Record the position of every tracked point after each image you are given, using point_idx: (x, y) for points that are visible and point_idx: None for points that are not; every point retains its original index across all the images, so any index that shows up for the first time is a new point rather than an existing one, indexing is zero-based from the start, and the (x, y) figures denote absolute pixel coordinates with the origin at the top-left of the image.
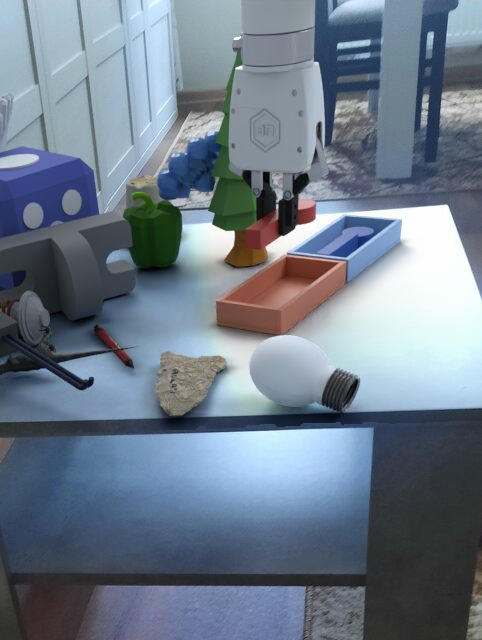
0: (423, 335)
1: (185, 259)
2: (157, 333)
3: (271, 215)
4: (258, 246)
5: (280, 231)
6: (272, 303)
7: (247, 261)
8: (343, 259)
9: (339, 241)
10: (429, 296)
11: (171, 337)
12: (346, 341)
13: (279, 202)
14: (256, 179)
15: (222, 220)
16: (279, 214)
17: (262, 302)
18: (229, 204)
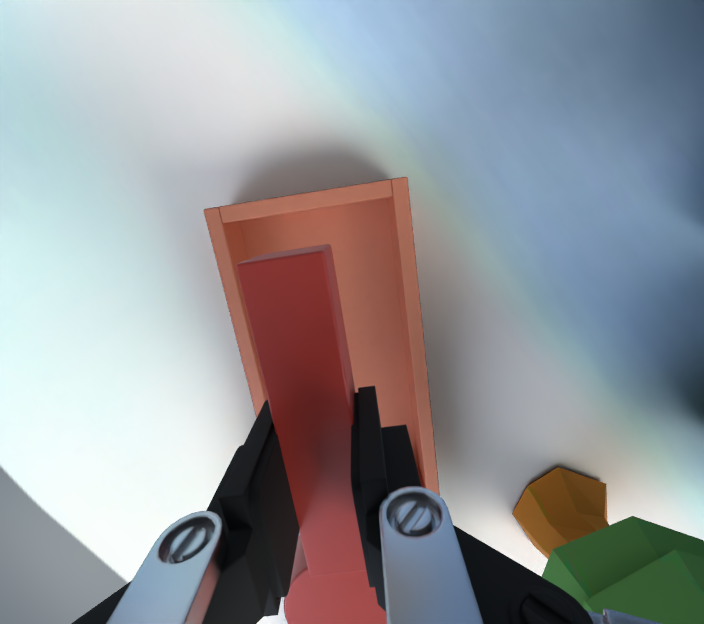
0: (2, 358)
1: (700, 457)
2: (505, 53)
3: (334, 455)
4: (266, 254)
5: None
6: (348, 333)
7: (542, 489)
8: (299, 533)
9: None
10: (126, 506)
11: (455, 53)
12: (94, 259)
13: (247, 487)
14: (422, 594)
15: (672, 548)
16: (262, 445)
17: (372, 327)
18: (686, 598)
